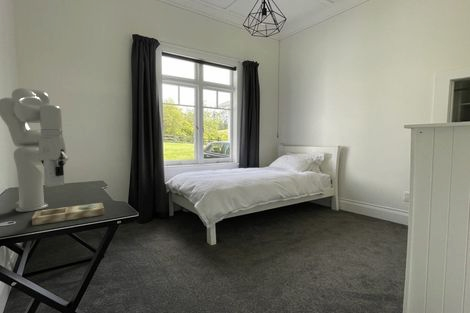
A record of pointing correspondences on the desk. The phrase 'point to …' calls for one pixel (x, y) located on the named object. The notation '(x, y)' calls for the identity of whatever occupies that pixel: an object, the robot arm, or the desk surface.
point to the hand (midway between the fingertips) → (54, 175)
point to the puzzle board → (67, 213)
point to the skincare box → (52, 174)
